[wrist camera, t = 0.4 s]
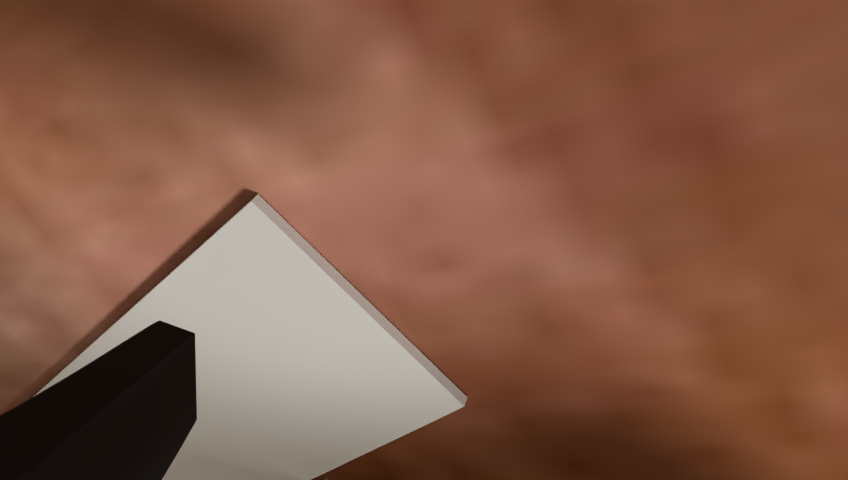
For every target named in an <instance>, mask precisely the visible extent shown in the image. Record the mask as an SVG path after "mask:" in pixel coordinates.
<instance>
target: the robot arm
mask: <svg viewBox="0 0 848 480" xmlns="http://www.w3.org/2000/svg"><path fill="white" fill-rule="evenodd" d="M196 420H197V404H196V355H195V333H193V332H190V331H187V330H185V329H182V328H179V327H176V326H174V325H171V324H168V323H166V322H163V321H160V320H159V321H157V322H155V323H153V324H151V325H150V326H148V327H146V328H145V329H143V330H142V331H140V332H138V333H137V334H135V335H134V336H132V337H130V338H129V339H127V340H126V341H124V342H122V343H121V344H119V345H118V346H116V347H114V348H113V349H111V350H110V351H108V352H106V353H105V354H103V355H102V356H100V357H98V358H97V359H95V360H94V361H92V362H90V363H89V364H87V365H85V366H84V367H82V368H81V369H79V370H77V371H76V372H74V373H72V374H71V375H69V376H68V377H66V378H64V379H62V380H61V381H59V382H57V383H56V384H54V385H52V386H51V387H49V388H47V389H45V390H44V391H42V392H40V393H39V394H37V395H35V396H34V397H32V398H30V399H28V400H27V401H25V402H23V403H22V404H20V405H18V406H16V407H15V408H13V409H11V410H9V411H7V412H6V413H4V414H2V415H0V480H162V478H163V477H164V475H165V474H166V472H167V470H168V469H169V467H170V465H171V464H172V462H173V460H174V459H175V457H176V455H177V454H178V452H179V450H180V448H181V447H182V445H183V443H184V441H185V440H186V438H187V436H188V434H189V433H190V431H191V429H192V427H193V426H194V424H195V422H196Z"/></svg>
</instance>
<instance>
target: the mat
mask: <svg viewBox="0 0 848 480" xmlns="http://www.w3.org/2000/svg"><path fill="white" fill-rule="evenodd" d="M159 320H160V321H163V322H166V323H168V324H171V325H174V326H176V327H179V328H182V329H185V330H187V331H190V332H193V333H195V355H196V404H197V420H196V422H195V424H194V426H193V427H192V429H191V431H190V433H189V434H188V436H187V438H186V440H185V441H184V443H183V445H182V447H181V448H180V450H179V452H178V454H177V455H176V457H175V459H174V460H173V462H172V464H171V465H170V467H169V469H168V470H167V472H166V474H165V475H164V477H163V478H162V480H311V479H314V478H316V477H318V476H320V475H322V474H324V473H326V472H328V471H330V470H332V469H335V468H337V467H339V466H341V465H343V464H345V463H347V462H349V461H351V460H353V459H356V458H358V457H360V456H362V455H364V454H366V453H368V452H370V451H372V450H374V449H376V448H379V447H381V446H383V445H385V444H387V443H389V442H391V441H393V440H395V439H397V438H400V437H402V436H404V435H406V434H408V433H410V432H412V431H414V430H416V429H418V428H420V427H423V426H425V425H427V424H429V423H431V422H433V421H435V420H437V419H439V418H441V417H444V416H446V415H448V414H450V413H452V412H454V411H456V410H458V409H460V408H462V407H464V406H465V403H466V400H467V398H468V397H467V396H466V395H465V394H464V393H463V392H461V391H460V390H459V389H458V388H457V387H456V386H455V385H454V384H453V383H452V382H451V381H450V380H449V379H448V378H447V377H446V376H445V375H444V374H443V373H442V372H441V371H440V370H439V369H438V368H437V367H436V366H435V365H434V364H433V363H432V362H431V361H430V360H429V359H427V358H426V357H425V356H424V355H423V354H422V353H421V352H420V351H419V350H418V349H417V348H416V347H415V346H414V345H413V344H412V343H411V342H410V341H409V340H408V339H407V338H406V337H405V336H404V335H403V334H402V333H401V332H400V331H399V330H398V329H397V328H396V327H394V326H393V325H392V324H391V323H390V322H389V321H388V320H387V319H386V318H385V317H384V316H383V315H382V314H381V313H380V312H379V311H378V310H377V309H376V308H375V307H374V306H373V305H372V304H371V303H370V302H369V301H368V300H367V299H366V298H365V297H364V296H363V295H362V294H360V293H359V292H358V291H357V290H356V289H355V288H354V287H353V286H352V285H351V284H350V283H349V282H348V281H347V280H346V279H345V278H344V277H343V276H342V275H341V274H340V273H339V272H338V271H337V270H336V269H335V268H334V267H333V266H332V265H331V264H330V263H329V262H327V261H326V260H325V259H324V258H323V257H322V256H321V255H320V254H319V253H318V252H317V251H316V250H315V249H314V248H313V247H312V246H311V245H310V244H309V243H308V242H307V241H306V240H305V239H304V238H303V237H302V236H301V235H300V234H299V233H298V232H297V231H296V230H295V229H293V228H292V227H291V226H290V225H289V224H288V223H287V222H286V221H285V220H284V219H283V218H282V217H281V216H280V215H279V214H278V213H277V212H276V211H275V210H274V209H273V208H272V207H271V206H270V205H269V204H268V203H267V202H266V201H265V200H264V199H263V198H262V197H260V196H259V195H258V194H257V195H256V196H255V197H254V198H253V199H252V200H251V201H249V202H248V203H247V204H246V205H245V206H244V207H243V208H242V209H241V210H239V211H238V212H237V213H236V214H235V215H234V216H233V217H232V218H231V219H230V220H228V221H227V222H226V223H225V224H224V225H223V226H222V227H221V228H220V229H218V230H217V231H216V232H215V233H214V234H213V235H212V236H211V237H210V238H208V239H207V240H206V241H205V242H204V243H203V244H202V245H201V246H200V247H198V248H197V249H196V250H195V251H194V252H193V253H192V254H191V255H190V256H188V257H187V258H186V259H185V260H184V261H183V262H182V263H181V264H180V265H178V266H177V267H176V268H175V269H174V270H173V271H172V272H171V273H170V274H168V275H167V276H166V277H165V278H164V279H163V280H162V281H161V282H160V283H158V284H157V285H156V286H155V287H154V288H153V289H152V290H151V291H150V292H148V293H147V294H146V295H145V296H144V297H143V298H142V299H141V300H140V301H138V302H137V303H136V304H135V305H134V306H133V307H132V308H131V309H130V310H128V311H127V312H126V313H125V314H124V315H123V316H122V317H121V318H120V319H118V320H117V321H116V322H115V323H114V324H113V325H112V326H111V327H110V328H108V329H107V330H106V331H105V332H104V333H103V334H102V335H101V336H100V337H98V338H97V339H96V340H95V341H94V342H93V343H92V344H91V345H90V346H88V347H87V348H86V349H85V350H84V351H83V352H82V353H81V354H80V355H78V356H77V357H76V358H75V359H74V360H73V361H72V362H71V363H70V364H68V365H67V366H66V367H65V368H64V369H63V370H62V371H61V372H60V373H58V374H57V375H56V376H55V377H54V378H53V379H52V380H51V381H50V382H48V383H47V384H46V385H45V386H44V387H43V388H42V389H41V390H40V391H39V392H37V393H36V394H35V395H37V394H39V393H40V392H42V391H44V390H45V389H47V388H49V387H51V386H52V385H54V384H56V383H57V382H59V381H61V380H62V379H64V378H66V377H68V376H69V375H71V374H72V373H74V372H76V371H77V370H79V369H81V368H82V367H84V366H85V365H87V364H89V363H90V362H92V361H94V360H95V359H97V358H98V357H100V356H102V355H103V354H105V353H106V352H108V351H110V350H111V349H113V348H114V347H116V346H118V345H119V344H121V343H122V342H124V341H126V340H127V339H129V338H130V337H132V336H134V335H135V334H137V333H138V332H140V331H142V330H143V329H145V328H146V327H148V326H150V325H151V324H153V323H155V322H157V321H159ZM35 395H34V396H35ZM34 396H33V397H34Z"/></svg>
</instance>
